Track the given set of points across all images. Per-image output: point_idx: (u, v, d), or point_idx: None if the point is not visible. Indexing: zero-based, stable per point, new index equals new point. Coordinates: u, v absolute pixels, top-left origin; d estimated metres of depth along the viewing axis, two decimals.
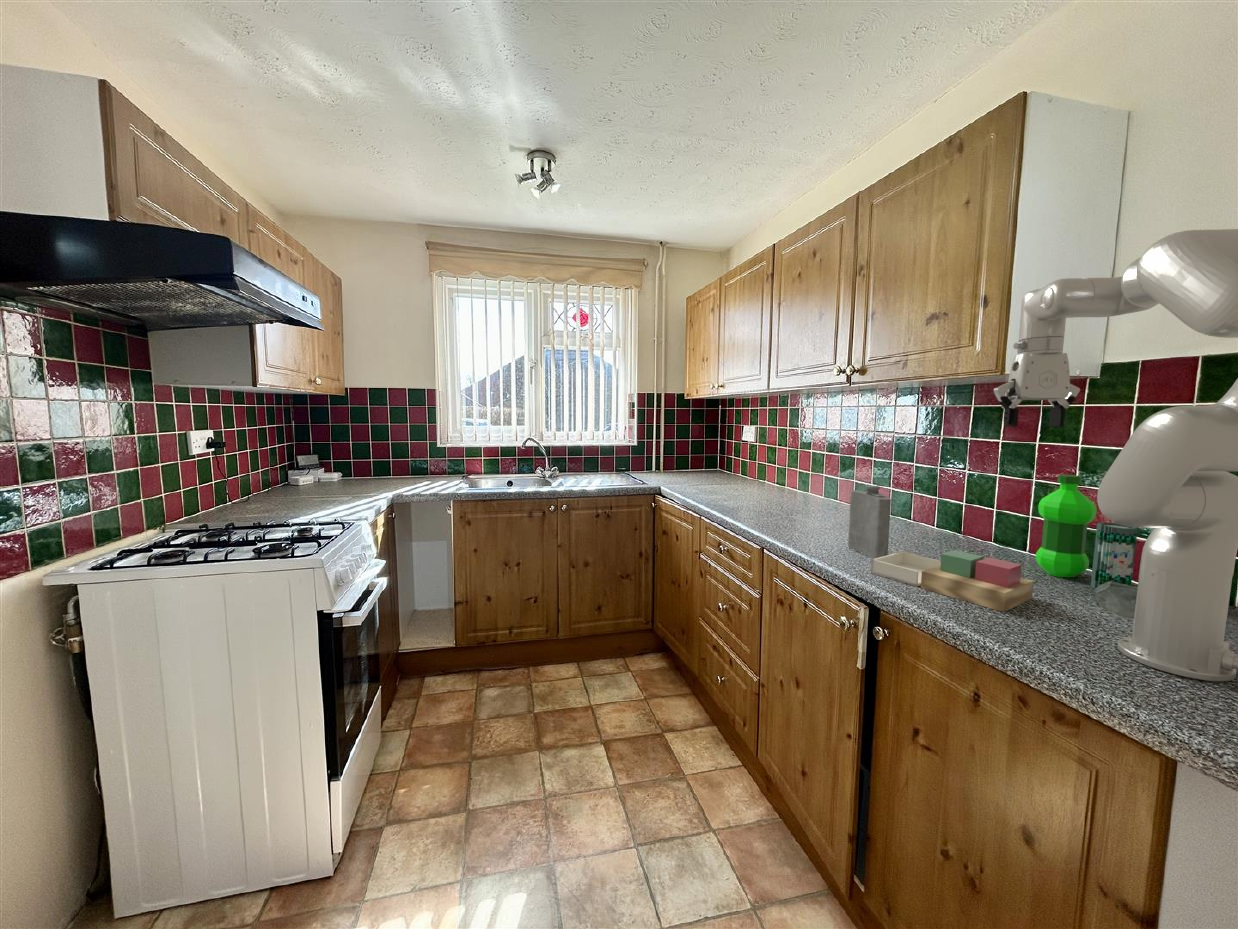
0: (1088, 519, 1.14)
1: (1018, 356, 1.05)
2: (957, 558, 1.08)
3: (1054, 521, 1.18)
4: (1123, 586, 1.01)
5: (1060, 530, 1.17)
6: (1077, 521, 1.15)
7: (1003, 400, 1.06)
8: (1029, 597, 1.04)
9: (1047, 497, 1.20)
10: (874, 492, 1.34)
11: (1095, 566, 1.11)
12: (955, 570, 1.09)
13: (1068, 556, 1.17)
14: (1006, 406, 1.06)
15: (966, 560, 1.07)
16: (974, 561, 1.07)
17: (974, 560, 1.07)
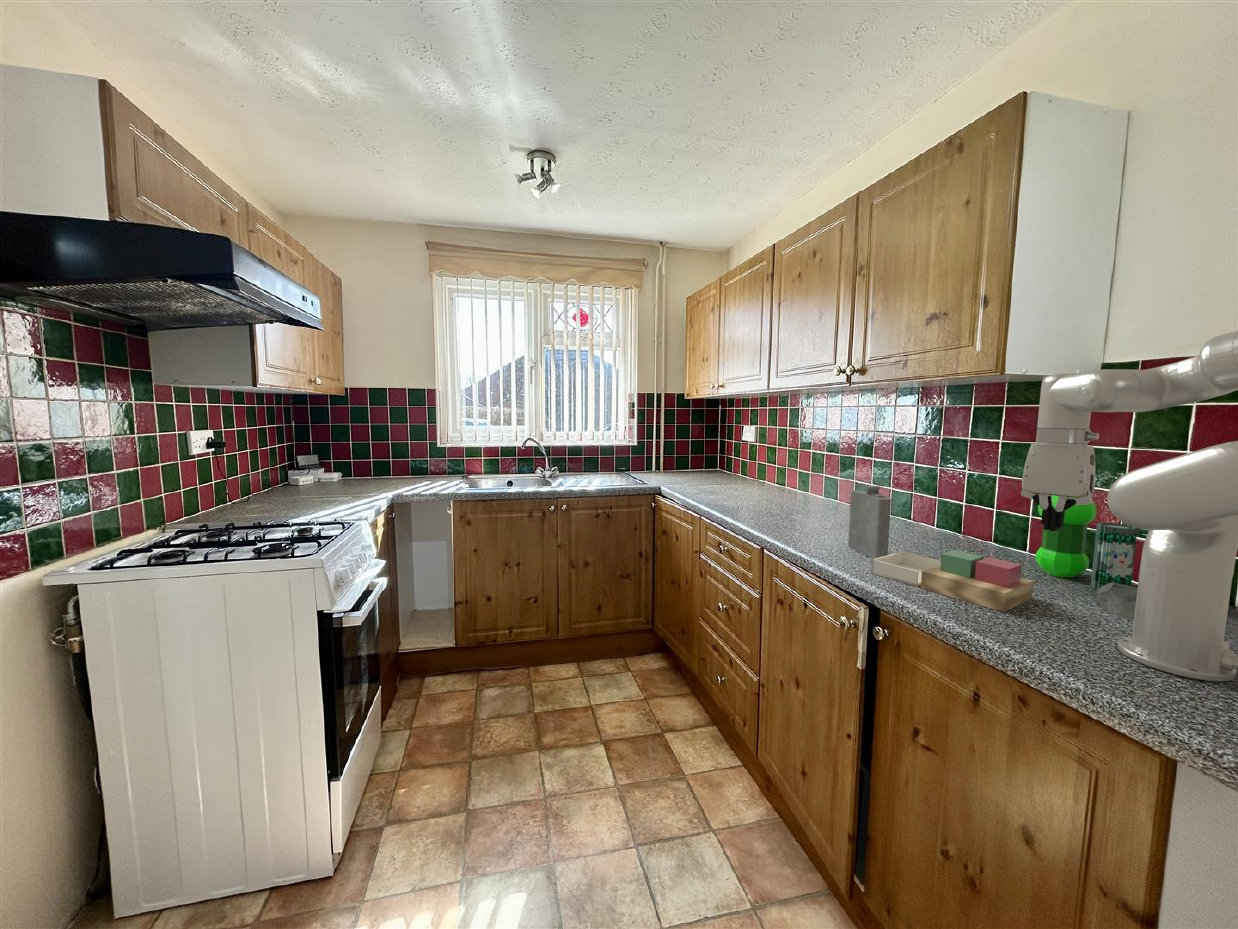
0: (1088, 519, 1.14)
1: (1091, 448, 0.91)
2: (957, 558, 1.08)
3: None
4: (1126, 587, 1.00)
5: (1060, 530, 1.17)
6: (1077, 521, 1.15)
7: None
8: (1029, 597, 1.04)
9: None
10: (874, 492, 1.34)
11: (1095, 566, 1.11)
12: (955, 570, 1.09)
13: (1068, 556, 1.17)
14: None
15: (966, 560, 1.07)
16: (974, 561, 1.07)
17: (974, 560, 1.07)
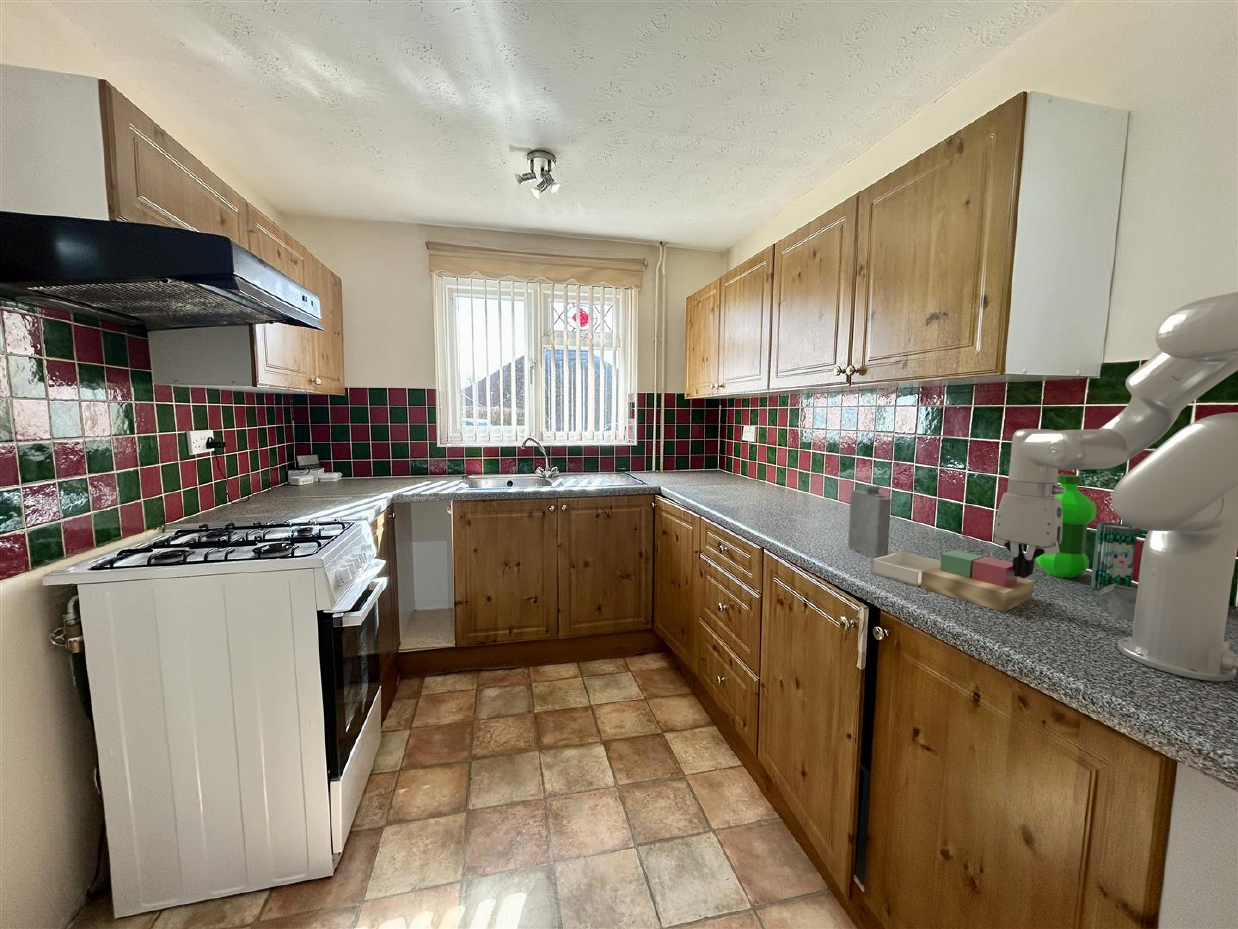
0: (1088, 519, 1.14)
1: (1058, 501, 0.95)
2: (957, 558, 1.08)
3: None
4: (1128, 589, 1.00)
5: None
6: (1077, 521, 1.15)
7: None
8: (1029, 597, 1.04)
9: None
10: (874, 492, 1.34)
11: (1095, 566, 1.11)
12: (955, 570, 1.09)
13: (1068, 556, 1.17)
14: None
15: (966, 560, 1.07)
16: None
17: None
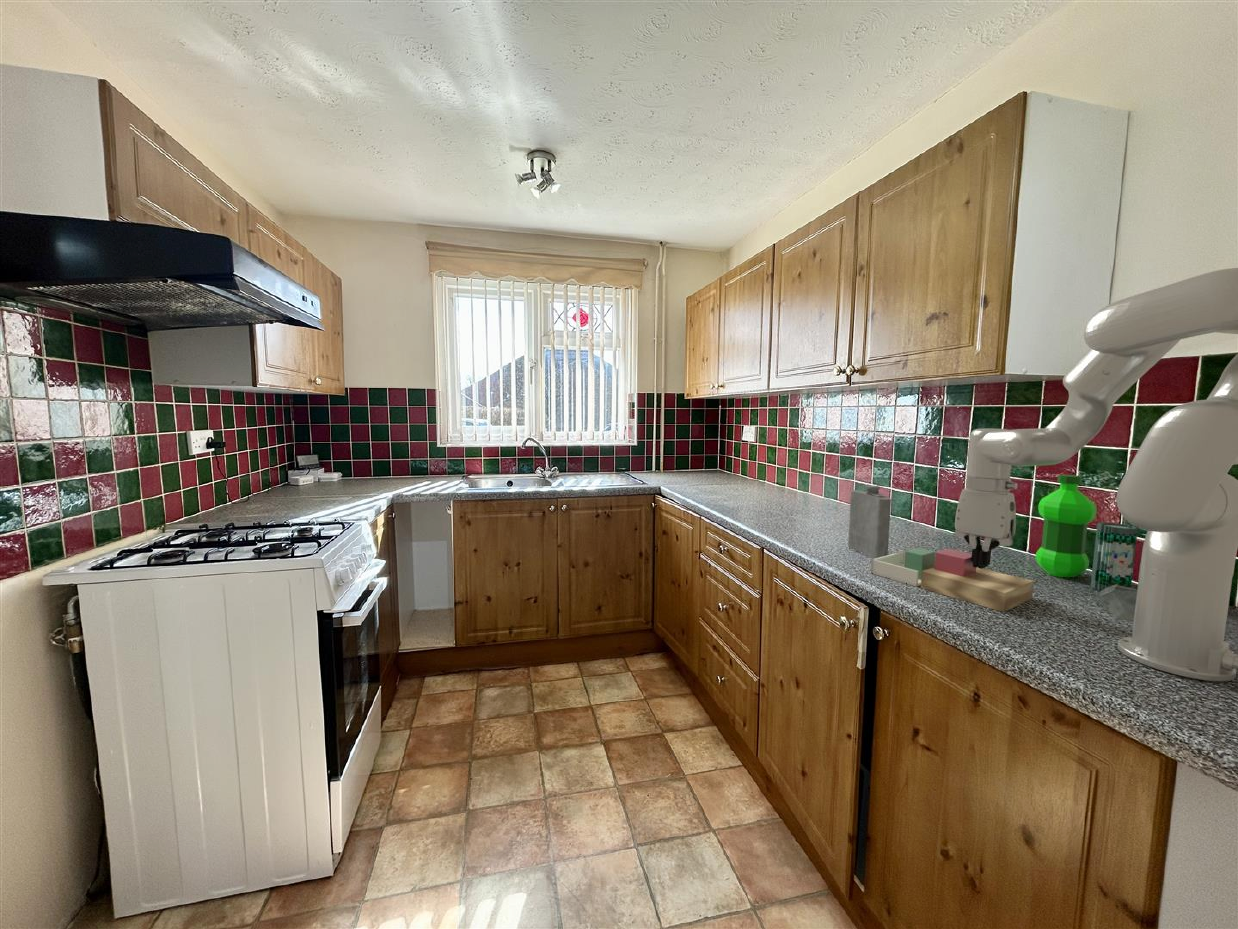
0: (1088, 519, 1.14)
1: (1011, 496, 1.02)
2: (905, 562, 1.18)
3: (1054, 521, 1.18)
4: (1129, 589, 0.99)
5: (1060, 530, 1.17)
6: (1078, 521, 1.15)
7: None
8: (1029, 597, 1.04)
9: (1047, 497, 1.20)
10: (874, 492, 1.34)
11: (1095, 565, 1.11)
12: (918, 566, 1.16)
13: (1068, 556, 1.17)
14: None
15: (906, 555, 1.18)
16: (910, 550, 1.18)
17: (909, 550, 1.19)
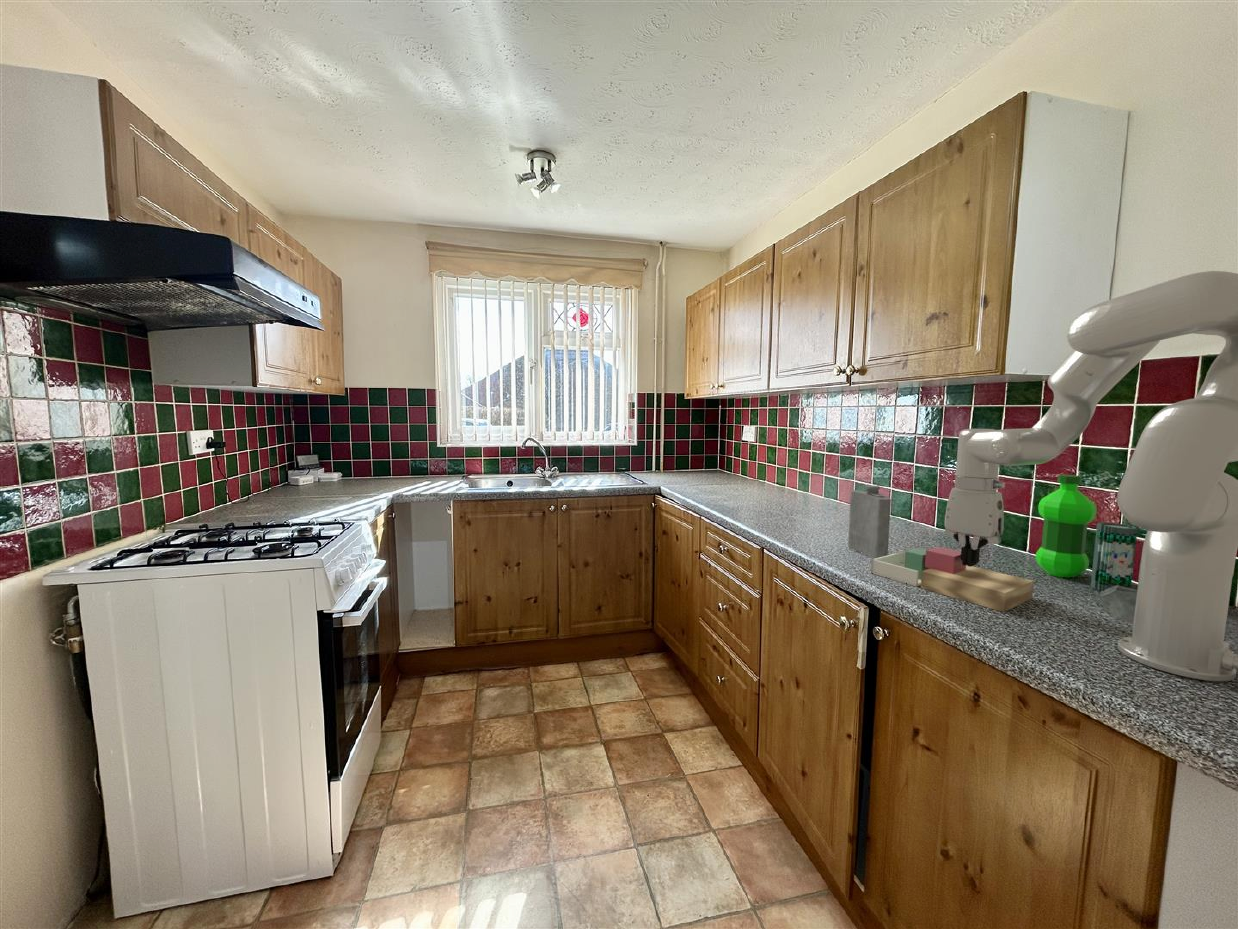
0: (1088, 519, 1.14)
1: (999, 495, 1.03)
2: (905, 562, 1.18)
3: (1054, 521, 1.18)
4: (1131, 590, 0.98)
5: (1060, 530, 1.17)
6: (1077, 521, 1.15)
7: None
8: (1029, 597, 1.04)
9: (1047, 497, 1.20)
10: (874, 492, 1.34)
11: (1095, 565, 1.11)
12: (918, 566, 1.16)
13: (1068, 556, 1.17)
14: None
15: (906, 555, 1.18)
16: (911, 550, 1.18)
17: (910, 550, 1.19)
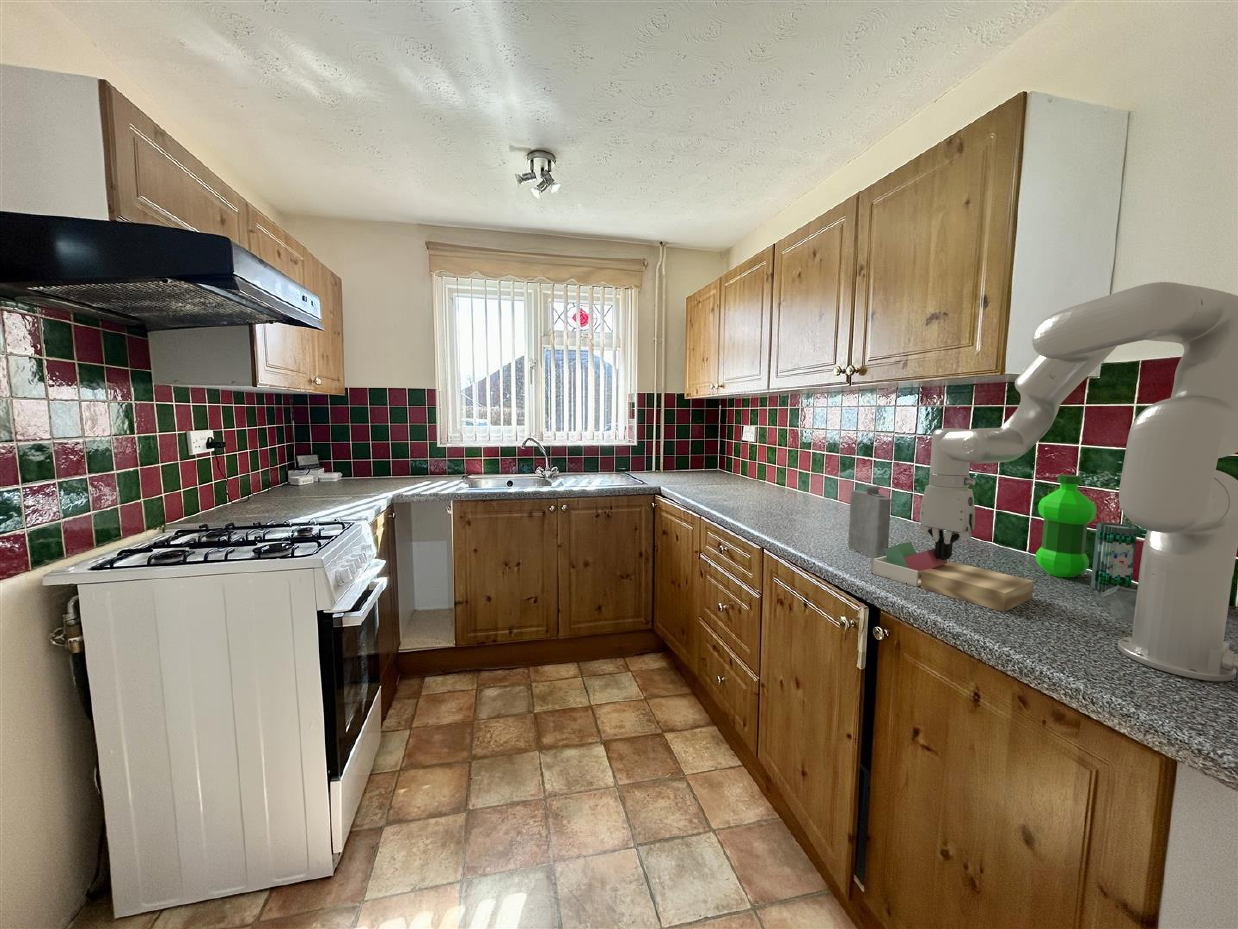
0: (1088, 519, 1.14)
1: (970, 492, 1.08)
2: (888, 559, 1.21)
3: (1054, 521, 1.18)
4: (1132, 591, 0.98)
5: (1060, 530, 1.17)
6: (1077, 521, 1.15)
7: None
8: (1029, 597, 1.04)
9: (1047, 497, 1.20)
10: (874, 492, 1.34)
11: (1095, 566, 1.11)
12: (899, 556, 1.19)
13: (1068, 556, 1.17)
14: None
15: (885, 552, 1.22)
16: None
17: None
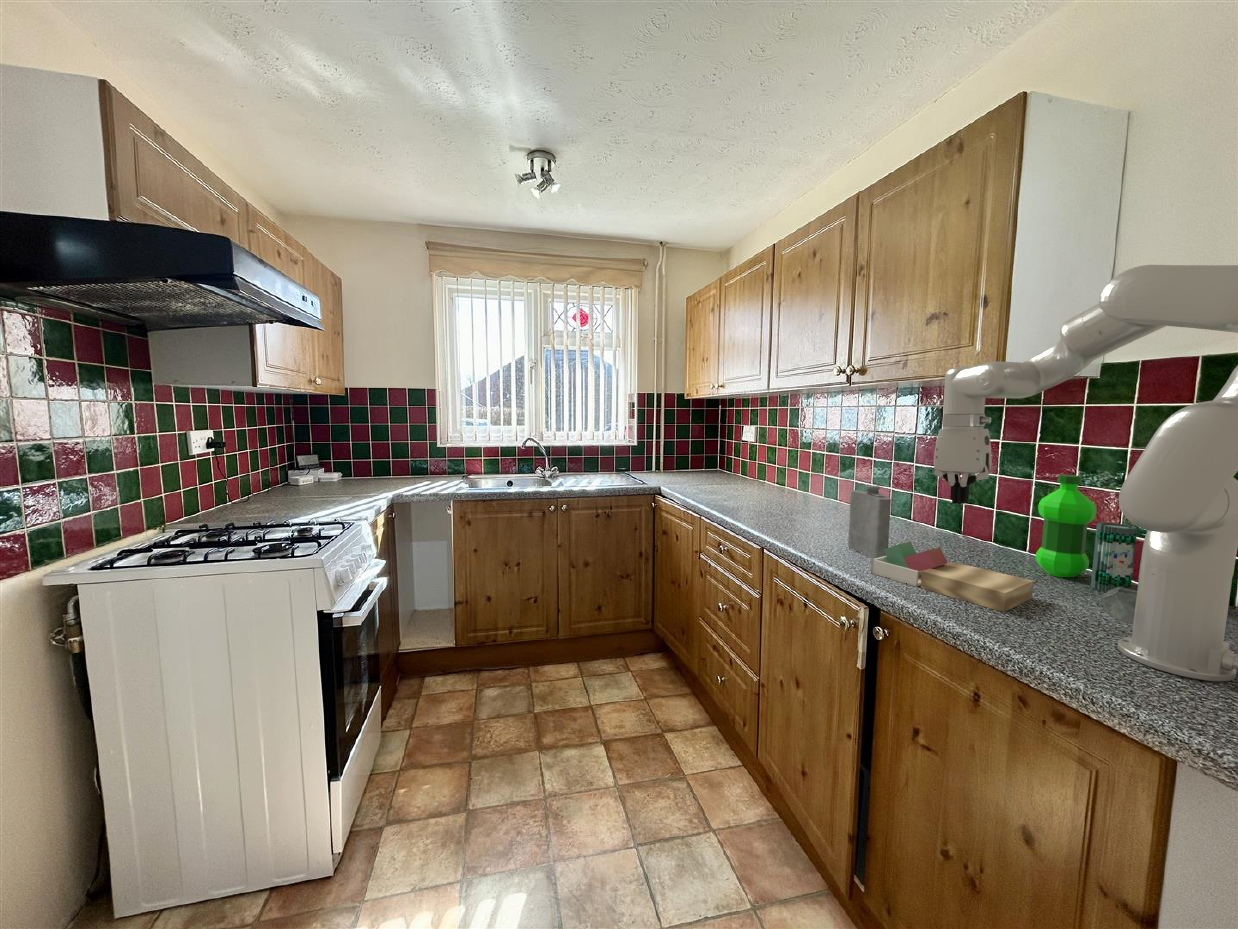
0: (1088, 519, 1.14)
1: (986, 430, 1.05)
2: (888, 559, 1.21)
3: (1054, 521, 1.18)
4: (1133, 592, 0.97)
5: (1060, 530, 1.17)
6: (1077, 521, 1.15)
7: None
8: (1029, 597, 1.04)
9: (1047, 497, 1.20)
10: (874, 492, 1.34)
11: (1095, 566, 1.11)
12: (899, 556, 1.19)
13: (1068, 556, 1.17)
14: (968, 486, 1.08)
15: (885, 552, 1.22)
16: None
17: None
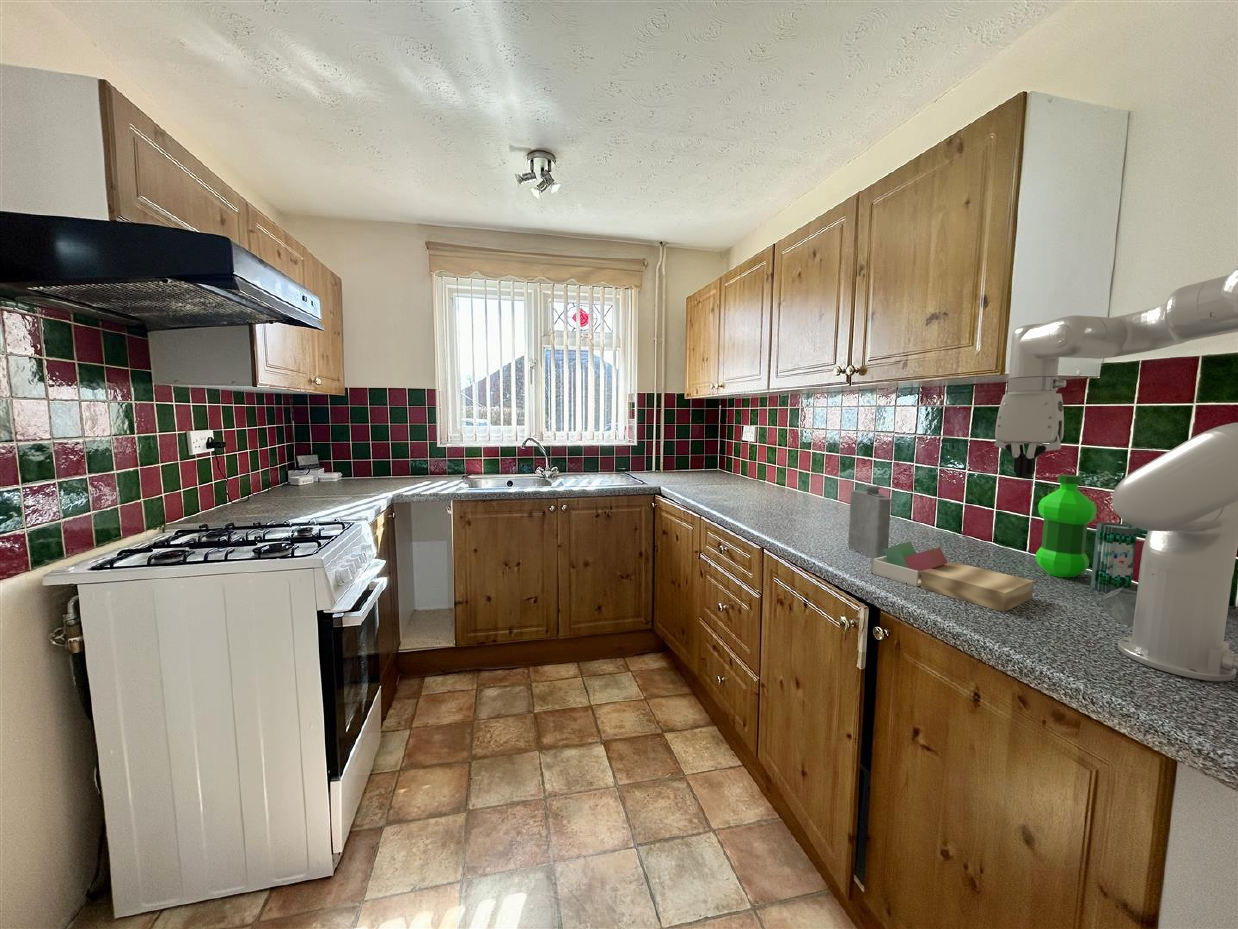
0: (1088, 519, 1.14)
1: (1059, 395, 0.94)
2: (888, 559, 1.21)
3: (1054, 521, 1.18)
4: (1135, 593, 0.97)
5: (1060, 530, 1.17)
6: (1077, 521, 1.15)
7: None
8: (1029, 597, 1.04)
9: (1047, 497, 1.20)
10: (874, 492, 1.34)
11: (1095, 566, 1.11)
12: (899, 556, 1.19)
13: (1068, 556, 1.17)
14: (1035, 458, 0.98)
15: (885, 552, 1.22)
16: None
17: None
